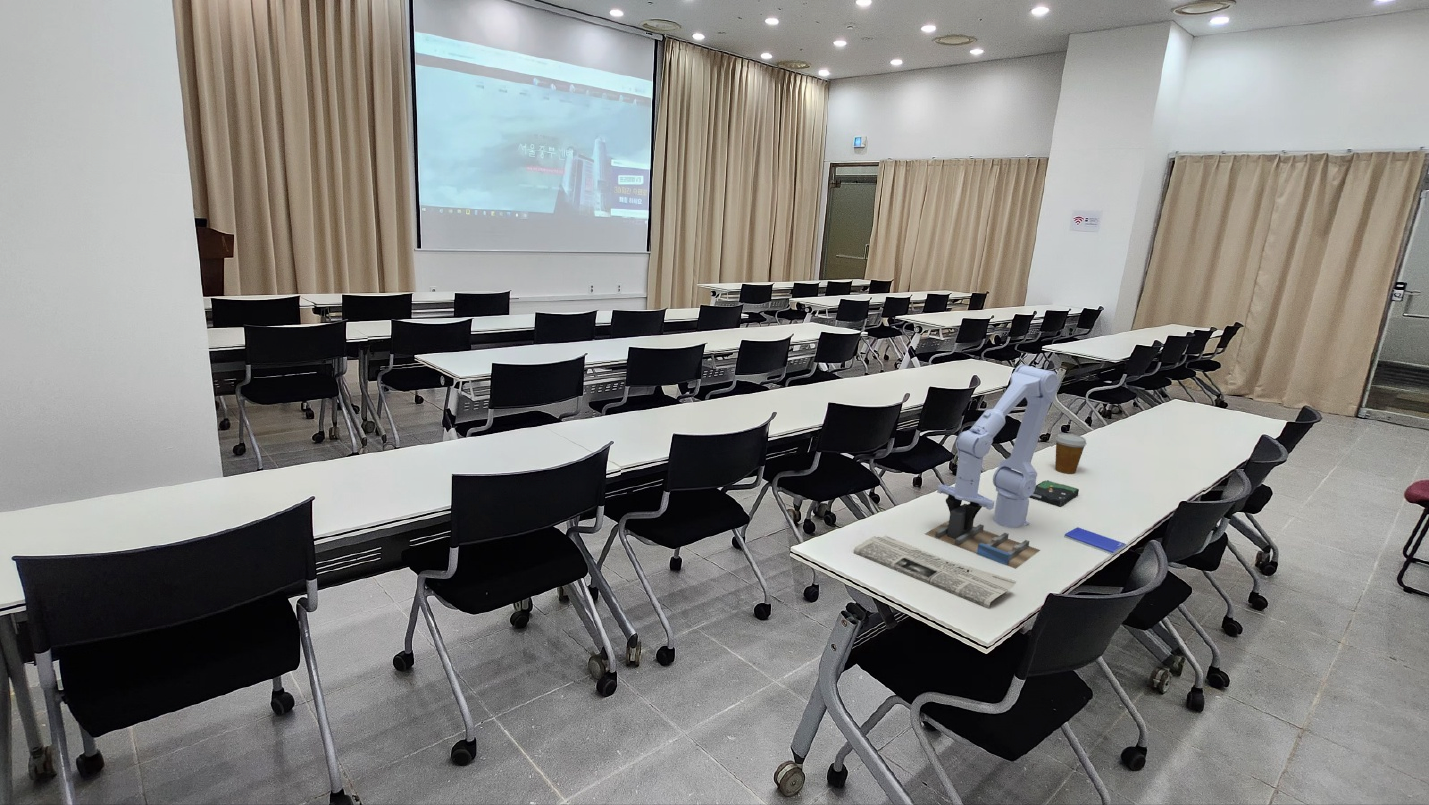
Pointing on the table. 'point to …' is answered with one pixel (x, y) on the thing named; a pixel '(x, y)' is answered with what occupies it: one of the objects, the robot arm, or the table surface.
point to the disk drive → (1054, 493)
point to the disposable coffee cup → (1068, 452)
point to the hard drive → (1095, 541)
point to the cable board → (988, 545)
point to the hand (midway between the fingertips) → (960, 526)
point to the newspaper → (935, 570)
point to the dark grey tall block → (957, 522)
